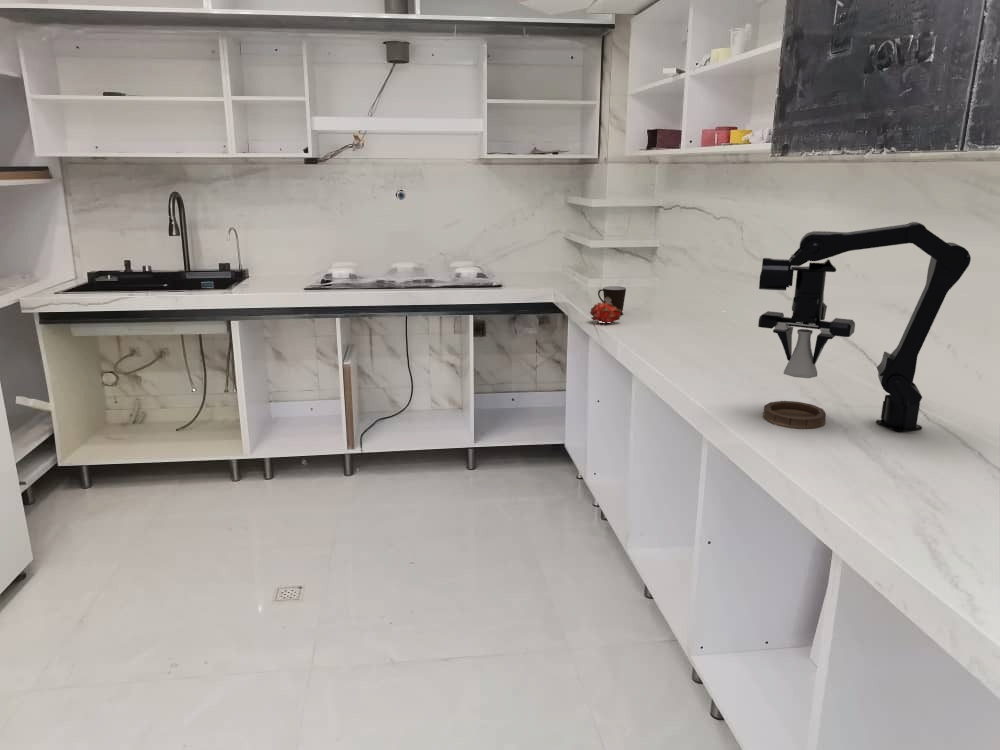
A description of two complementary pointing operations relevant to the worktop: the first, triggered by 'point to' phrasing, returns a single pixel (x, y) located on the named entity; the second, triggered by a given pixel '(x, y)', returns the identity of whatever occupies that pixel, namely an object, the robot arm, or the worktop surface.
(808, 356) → the flask
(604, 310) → the dragon fruit
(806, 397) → the worktop surface
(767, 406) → the round wooden tray
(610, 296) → the coffee mug
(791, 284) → the robot arm
